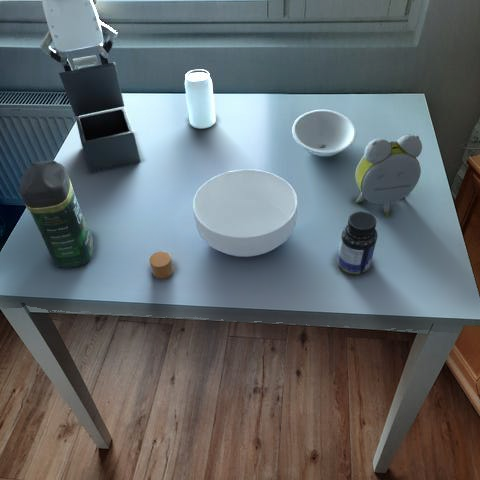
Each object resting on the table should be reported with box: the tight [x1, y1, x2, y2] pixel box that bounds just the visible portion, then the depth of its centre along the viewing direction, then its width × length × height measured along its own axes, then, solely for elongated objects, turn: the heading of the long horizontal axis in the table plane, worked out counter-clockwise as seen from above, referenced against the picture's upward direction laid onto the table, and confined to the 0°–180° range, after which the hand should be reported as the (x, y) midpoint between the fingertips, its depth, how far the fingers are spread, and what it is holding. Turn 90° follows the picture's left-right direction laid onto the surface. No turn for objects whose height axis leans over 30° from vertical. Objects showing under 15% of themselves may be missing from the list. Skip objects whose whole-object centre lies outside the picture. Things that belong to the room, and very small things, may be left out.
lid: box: [58, 54, 125, 118], centre depth 104 cm, size 12×12×5 cm
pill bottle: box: [336, 210, 378, 276], centre depth 84 cm, size 6×6×11 cm
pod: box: [148, 250, 175, 279], centre depth 88 cm, size 4×4×4 cm
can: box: [184, 69, 216, 129], centre depth 115 cm, size 6×6×12 cm
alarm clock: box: [354, 134, 423, 216], centre depth 92 cm, size 12×7×15 cm, turn 99°
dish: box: [291, 109, 357, 157], centre depth 108 cm, size 18×14×5 cm
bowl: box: [192, 168, 299, 258], centre depth 91 cm, size 20×20×8 cm
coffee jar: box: [19, 160, 94, 269], centre depth 86 cm, size 10×8×19 cm
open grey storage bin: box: [75, 106, 141, 173], centre depth 110 cm, size 12×12×8 cm
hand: (89, 77), depth 104 cm, fingers open, 6 cm apart
